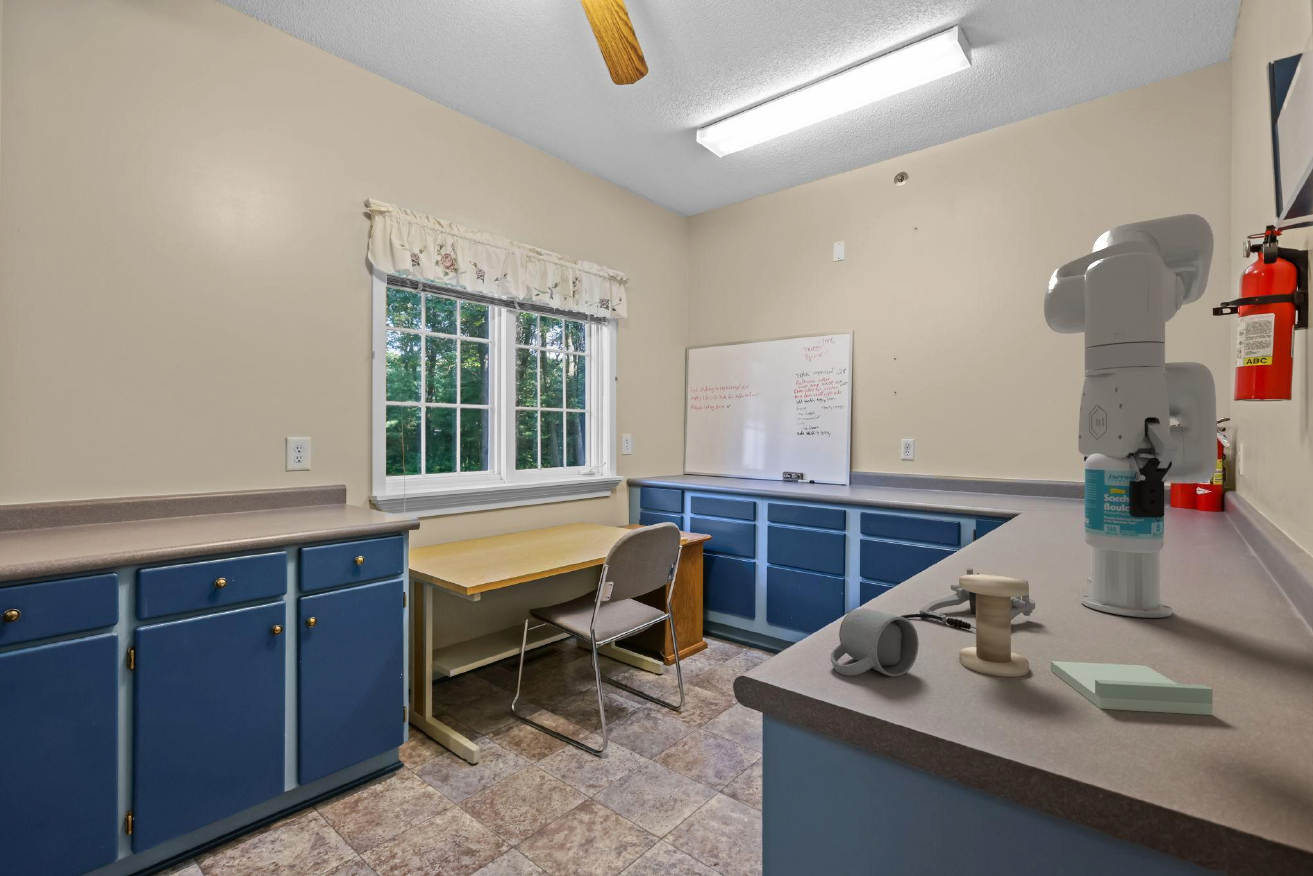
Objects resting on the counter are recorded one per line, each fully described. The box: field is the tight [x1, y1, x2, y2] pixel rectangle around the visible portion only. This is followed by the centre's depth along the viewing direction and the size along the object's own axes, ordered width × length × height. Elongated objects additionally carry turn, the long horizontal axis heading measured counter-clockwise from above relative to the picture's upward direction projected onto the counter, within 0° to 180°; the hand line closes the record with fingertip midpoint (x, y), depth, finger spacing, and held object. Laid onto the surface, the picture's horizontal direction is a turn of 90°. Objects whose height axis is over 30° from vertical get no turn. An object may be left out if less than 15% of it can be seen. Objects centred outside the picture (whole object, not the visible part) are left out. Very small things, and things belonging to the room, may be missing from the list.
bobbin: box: [958, 573, 1030, 678], centre depth 79 cm, size 8×8×11 cm
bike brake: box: [900, 567, 1036, 630], centre depth 98 cm, size 14×7×20 cm
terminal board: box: [1050, 660, 1214, 716], centre depth 71 cm, size 11×11×3 cm
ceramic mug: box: [830, 608, 920, 678], centre depth 79 cm, size 10×8×7 cm
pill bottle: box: [1084, 452, 1165, 553], centre depth 71 cm, size 8×7×14 cm
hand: (1124, 511), depth 71 cm, fingers closed on pill bottle, 7 cm apart
